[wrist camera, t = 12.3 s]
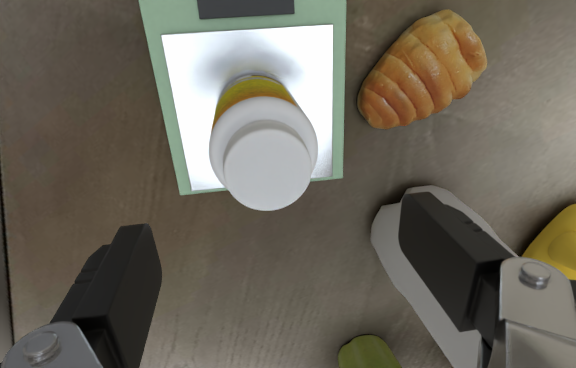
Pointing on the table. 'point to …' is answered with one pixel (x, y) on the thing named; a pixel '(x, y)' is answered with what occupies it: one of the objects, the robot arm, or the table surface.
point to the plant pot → (367, 354)
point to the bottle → (407, 281)
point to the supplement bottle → (262, 143)
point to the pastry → (422, 71)
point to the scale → (245, 71)
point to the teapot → (557, 243)
